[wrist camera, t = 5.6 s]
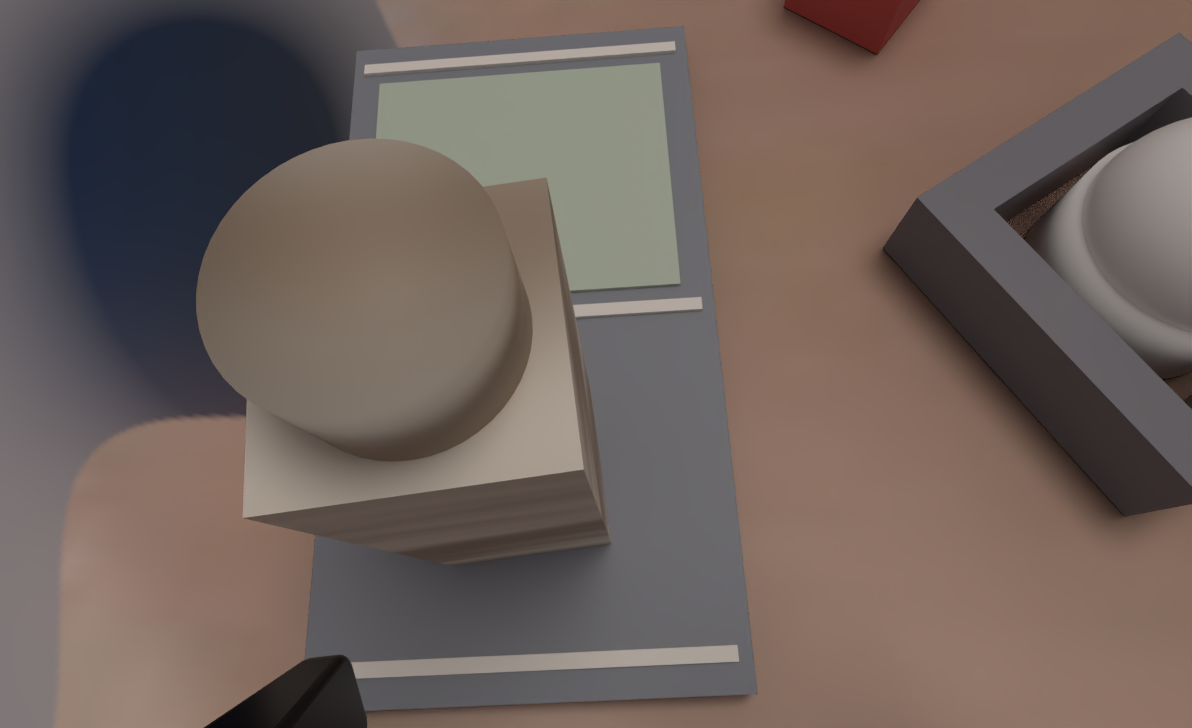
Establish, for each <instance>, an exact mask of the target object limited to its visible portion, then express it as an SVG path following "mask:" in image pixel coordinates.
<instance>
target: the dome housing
mask: <svg viewBox="0 0 1192 728" xmlns="http://www.w3.org/2000/svg"><path fill="white" fill-rule="evenodd" d="M1191 117H1192V43H1191V42H1190V41H1189V40H1188V39H1187V38H1185V37H1184V36H1183V35H1182V34H1180V33H1178V34H1176V35H1174V36H1173V37H1171V38H1170V39H1168V40H1167V41H1165V42H1163V43H1162V44H1160V45H1159V46H1157V47H1155V48H1154V49H1152V50H1151V51H1149V52H1147V53H1146V54H1144V55H1143V56H1141V57H1140V58H1138V59H1136V60H1135V61H1133V62H1132V63H1130V64H1128V65H1127V66H1125V67H1124V68H1122V69H1121V70H1119V71H1117V72H1116V73H1114V74H1113V75H1111V76H1109V77H1108V78H1106V79H1105V80H1103V81H1101V82H1100V83H1098V84H1097V85H1095V86H1094V87H1092V88H1090V89H1089V90H1087V91H1086V92H1084V93H1082V94H1081V95H1079V96H1078V97H1076V98H1074V99H1073V100H1071V101H1070V102H1068V103H1067V104H1065V105H1063V106H1062V107H1060V108H1059V109H1057V110H1055V111H1054V112H1052V113H1051V114H1049V115H1047V116H1046V117H1044V118H1043V119H1041V120H1040V121H1038V122H1036V123H1035V124H1033V125H1032V126H1030V127H1028V128H1027V129H1025V130H1024V131H1022V132H1020V133H1019V134H1017V135H1016V136H1014V137H1013V138H1011V139H1009V140H1008V141H1006V142H1005V143H1003V144H1001V145H1000V146H998V147H997V148H995V149H994V150H992V151H990V152H989V153H987V154H986V155H984V156H982V157H981V158H979V159H978V160H976V161H974V162H973V163H971V164H970V165H968V166H967V167H965V168H963V169H962V170H960V171H959V172H957V173H955V174H954V175H952V176H951V177H949V178H947V179H946V180H944V181H943V182H941V183H940V184H938V185H936V186H935V187H933V188H932V189H930V190H928V191H927V192H925V193H924V194H922V195H920V196H919V197H917V199H916V200H915V202H914V203H913V205H912V206H911V207H910V209H909V210H908V212H907V213H906V215H905V216H904V218H903V219H902V221H901V222H900V223H899V225H898V226H897V228H896V229H895V231H894V232H893V234H892V235H891V237H890V238H889V240H888V241H887V242H886V244H885V245H884V247H883V248H884V250H885V251H886V252H887V253H888V254H889V255H890V256H891V257H892V258H893V260H894V261H895V262H896V263H897V264H898V265H899V266H900V267H901V268H902V270H903V271H904V272H905V273H906V274H907V275H908V276H909V277H910V278H911V280H912V281H913V282H914V283H915V284H916V285H917V286H918V287H919V288H920V290H921V291H922V292H923V293H924V294H925V295H926V296H927V297H928V298H929V300H930V301H931V302H932V303H933V304H934V305H935V306H936V307H937V308H938V310H939V311H940V312H941V313H942V314H943V315H944V316H945V317H946V318H947V320H948V321H949V322H950V323H951V324H952V325H953V326H954V327H955V328H956V330H957V331H958V332H959V333H960V334H961V335H962V336H963V337H964V338H965V340H966V341H967V342H968V343H969V344H970V345H971V346H972V347H973V348H974V350H975V351H976V352H977V353H978V354H979V355H980V356H981V357H982V358H983V360H984V361H985V362H986V363H987V364H988V365H989V366H990V367H991V368H992V370H993V371H994V372H995V373H996V374H997V375H998V376H999V377H1000V378H1001V380H1002V381H1003V382H1004V383H1005V384H1006V385H1007V386H1008V387H1009V388H1010V390H1011V391H1012V392H1013V393H1014V394H1015V395H1016V396H1017V397H1018V398H1019V399H1020V401H1021V402H1022V403H1023V404H1024V405H1025V406H1026V407H1027V408H1028V409H1029V411H1030V412H1031V413H1032V414H1033V415H1034V416H1035V417H1036V418H1037V419H1038V421H1039V422H1040V423H1041V424H1042V425H1043V426H1044V427H1045V428H1046V429H1047V431H1048V432H1049V433H1050V434H1051V435H1052V436H1053V437H1054V438H1055V439H1056V441H1057V442H1058V443H1059V444H1060V445H1061V446H1062V447H1063V448H1064V449H1065V451H1066V452H1067V453H1068V454H1069V455H1070V456H1071V457H1072V458H1073V459H1074V461H1075V462H1076V463H1077V464H1078V465H1079V466H1080V467H1081V468H1082V469H1083V471H1084V472H1085V473H1086V474H1087V475H1088V476H1089V477H1090V478H1091V479H1092V481H1093V482H1094V483H1095V484H1096V485H1097V486H1098V487H1099V488H1100V489H1101V491H1102V492H1103V493H1104V494H1105V495H1106V496H1107V497H1108V498H1109V499H1110V501H1111V502H1112V503H1113V504H1114V505H1115V506H1116V507H1117V508H1118V509H1119V511H1120V512H1121V513H1122V514H1123V515H1124V516H1130V515H1135V514H1140V513H1146V512H1151V511H1156V510H1162V509H1167V508H1172V507H1178V506H1183V505H1188V504H1192V395H1191V396H1190V397H1188V398H1187V399H1186V400H1184V401H1183V400H1182V399H1181V398H1180V397H1179V396H1178V395H1177V394H1176V393H1175V392H1174V391H1173V390H1172V389H1171V388H1170V387H1169V386H1168V385H1167V384H1166V383H1165V382H1164V381H1163V380H1162V379H1161V378H1160V377H1159V376H1158V375H1157V374H1156V373H1155V372H1154V371H1153V370H1152V369H1151V368H1150V367H1149V366H1148V365H1147V364H1146V363H1145V362H1144V361H1143V360H1142V359H1141V358H1140V357H1139V356H1138V355H1137V354H1136V353H1135V352H1134V351H1133V350H1132V348H1131V347H1130V346H1129V345H1128V344H1127V343H1126V342H1125V341H1124V340H1123V339H1122V338H1121V337H1120V336H1119V335H1118V334H1117V333H1116V332H1115V331H1114V330H1113V329H1112V328H1111V327H1110V326H1109V325H1108V324H1107V323H1106V322H1105V321H1104V320H1103V319H1102V318H1101V317H1100V316H1099V315H1098V314H1097V313H1096V312H1095V311H1094V310H1093V309H1092V308H1091V307H1090V306H1089V305H1088V304H1087V303H1086V302H1085V301H1084V300H1083V299H1082V298H1081V297H1080V296H1079V295H1078V294H1077V293H1076V292H1075V291H1074V290H1073V289H1072V288H1071V287H1070V286H1069V285H1068V284H1067V283H1066V282H1065V281H1064V280H1063V279H1062V278H1061V277H1060V276H1059V275H1058V274H1057V273H1056V272H1055V271H1054V270H1053V269H1052V268H1051V267H1050V266H1049V265H1048V264H1047V263H1046V262H1045V261H1044V260H1043V258H1042V257H1041V256H1040V255H1039V254H1038V253H1037V252H1036V251H1035V250H1034V249H1033V248H1032V247H1031V246H1030V245H1029V244H1028V243H1027V242H1026V241H1025V240H1024V239H1023V238H1022V237H1021V236H1020V235H1019V234H1018V233H1017V232H1016V231H1015V230H1014V229H1013V228H1012V227H1011V226H1010V225H1009V224H1008V223H1007V222H1006V221H1008V220H1010V219H1011V218H1013V217H1014V216H1016V215H1017V214H1019V213H1020V212H1022V211H1023V210H1025V209H1026V208H1028V207H1030V206H1031V205H1033V204H1034V203H1036V202H1037V201H1039V200H1040V199H1042V198H1043V197H1045V196H1046V195H1048V194H1050V193H1051V192H1053V191H1054V190H1056V189H1057V188H1059V187H1060V186H1062V185H1063V184H1065V183H1066V182H1068V181H1070V180H1071V179H1073V178H1074V177H1076V176H1077V175H1079V174H1080V173H1082V172H1083V171H1085V170H1086V169H1088V168H1090V167H1091V166H1093V165H1094V164H1096V163H1097V162H1098V161H1100V160H1101V159H1102V158H1103V157H1105V156H1106V155H1107V154H1109V153H1111V152H1112V151H1114V150H1116V149H1118V148H1120V147H1122V146H1125V145H1127V144H1130V143H1133V142H1135V141H1137V140H1138V139H1140V138H1142V137H1143V136H1145V135H1147V134H1149V133H1151V132H1152V131H1155V130H1157V129H1159V128H1162V127H1164V126H1166V125H1169V124H1172V123H1174V122H1177V121H1180V120H1184V119H1188V118H1191Z"/></svg>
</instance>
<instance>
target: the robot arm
mask: <svg viewBox="0 0 1192 728" xmlns="http://www.w3.org/2000/svg"><path fill="white" fill-rule="evenodd" d="M204 728H367V718H366V713H365V709H364V706H363V702H362V699H361V695H360V691H359V688H358V684H357V681H356V677H355V674H354V670H353V667H352V664H351V662H350V660H349V659H348V658H347V657H346V656H344V655H331V656H322V657H313V658H308V659H306V660H304V661H302V662H301V663H299V664H298V665H296V666H295V667H293V668H292V669H290V670H289V671H287V672H286V673H284V674H283V675H281V676H280V677H278V678H277V679H275V680H274V681H272V682H271V683H269V684H268V685H266V686H265V687H263V688H262V689H260V690H259V691H257V692H256V693H255V694H253V695H252V696H250V697H249V698H247V699H246V700H244V701H243V702H241V703H240V704H238V705H237V706H235V707H234V708H232V709H231V710H229V711H228V712H226V713H225V714H223V715H222V716H220V717H219V718H217V719H216V720H214V721H213V722H211V723H210V724H208V725H207V726H205V727H204Z"/></svg>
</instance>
